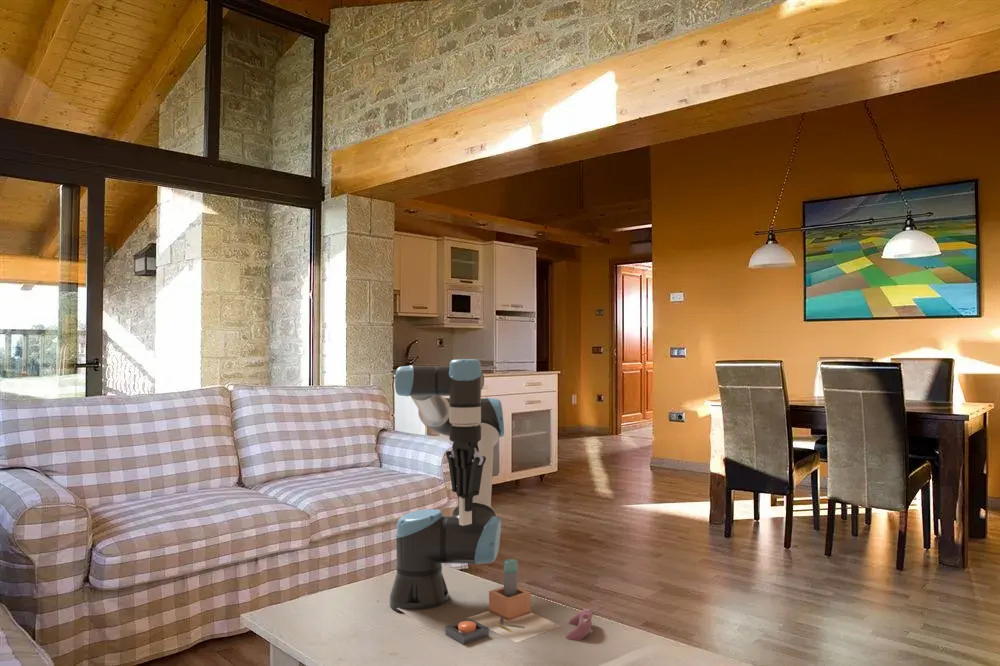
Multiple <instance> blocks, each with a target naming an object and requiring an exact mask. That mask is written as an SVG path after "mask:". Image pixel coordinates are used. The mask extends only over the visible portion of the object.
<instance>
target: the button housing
mask: <svg viewBox="0 0 1000 666" xmlns="http://www.w3.org/2000/svg"><path fill="white" fill-rule="evenodd" d="M463 621H472V622H474V623H476V630H474V631H471V632H468V633H463V632H461V631H459V630H458V624H459V623H460V622H463ZM445 635H446V636H447V637H449V638H451V639H452V640H455V641H456V642H458V643H460V644H462V645H463V646H465V645H468V644H470V643H474V642H476V641H480V640H483V639H485V638H488V637H489V636H490V629H489V628H488V627H486V626H484V625H482V624H480V623H478V622H476V621H474V620H472V619H468V618H467V619H465V620H461V621H459V622H455V623H452V624H449V625H446V626H445Z"/></svg>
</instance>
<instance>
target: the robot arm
mask: <svg viewBox="0 0 1000 666" xmlns="http://www.w3.org/2000/svg"><path fill="white" fill-rule="evenodd" d="M484 385H485V376H484V373H483V371H482V363H481V361H480V360H479V359H472V358H471V359H470V358H467V359H466V358H463V359H462V358H460V359H459V358H458V359H452V360H451V361H450V362H449V365H438V366H437V365H412V364H410V365H405V366H403V365H402V366H399V367H398V368H396V370H395V375H394V387H395V393H396V394H397V395H398V396H402V397H410V398H411V399H412V401H413V402H414V405H415V406H416V408H417V409H418V411H417V412H418V417H419V419H420V421H421V422H422V424H423V425H425V427H426V428H428V429H429V430H431V431H433V432H434V433H438V434H440V435H442V436H446V437H449V441H450V442H452V446H451V447H452V448H451V449H450V450H446V452H445V456H446V458H447V461H448V469H449V476H450V482H451V483H450V484H451V491H452V493H456V496H457V499H458V500H457V502H458V503H457V504H458V505H456V506H455V507H454V508H453V511H452V516H445V515H444V516H443V513H442V511H441V510H440V509H435V508H426V509H418V510H414V511H410V512H408V513H406V514H404V515H402V516H401V517H399V519H398V520H397V522H396V523H397V524H396V534H395V537H396V575H395V579H394V581H393V584H392V588H391V592H390V594H389V606H390V607H391V608H392V610H394V611H397V612H399V613H402V614H403V613H405V612H404V611H401V610H400V609H403V610H411V611H412V610H413V611H414V610H416V611H422V610H429V609H435V608H437V607H441V606H442V605H445V604H446V603H447V602H448V601H449V597H450V594H449V589H448V587H447V583H446V581H445V577H444V575H443V564H463V565H464V564H475V565H481V564H484V565H485V564H492V563H493V562H495V560H496V559H497V557H498V553H499V549H500V541H501V532H502V520H501V517H499V516H497V514H496V510H495V509H494V508H493V507H492V490H493V488H492V487H493V465H494V464H493V463H494V446H496V445H497V444H498V442H499V440H500V438H501V437H504V436H505V425H504V422H505V421H504V414H503V413H504V412H503V411H504V410H503V405H502V402H501V400H500V399H498V398H492V397H491V398H490V397H485V398H482V390H483V388H484Z"/></svg>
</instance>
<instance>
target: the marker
mask: <svg viewBox="0 0 1000 666" xmlns="http://www.w3.org/2000/svg"><path fill="white" fill-rule="evenodd" d="M518 563H519V561H518V560H517V559H516V558H507V559H504V560H503V587H504V596H506V597H511V596H515V595H517V587H518V566H519V565H518Z"/></svg>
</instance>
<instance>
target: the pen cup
mask: <svg viewBox="0 0 1000 666" xmlns="http://www.w3.org/2000/svg"><path fill="white" fill-rule="evenodd" d="M531 596H532V594H531V592H530V591H528V590H525V589H523V588H522V587H518V586H517V595H515V596H511V597H506V596H504V586H502V587H499V588H496V589H492V590H489V591H488V604H489V605H488V611H489V612H491V613H493V614H495V615H497V616H499V617H501V618H504V619H506V620H508V621H509V620H512V619H515V618H518V617H521V616H524V615H527V614H530V613H532V612H531V607H532V605H531V604H532V603H531V601H532V600H531V599H532V598H531Z"/></svg>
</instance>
